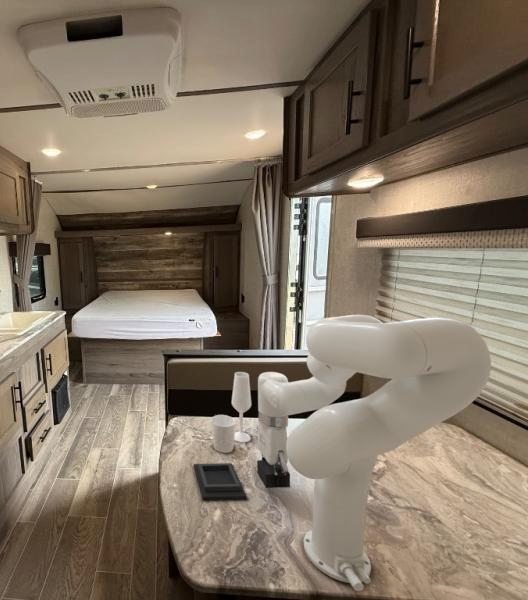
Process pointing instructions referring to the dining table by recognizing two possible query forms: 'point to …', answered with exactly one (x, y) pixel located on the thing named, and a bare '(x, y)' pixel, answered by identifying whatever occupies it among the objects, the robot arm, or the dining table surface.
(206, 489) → the base pad
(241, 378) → the champagne flute
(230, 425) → the white cup
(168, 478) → the dining table surface
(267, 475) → the black pad
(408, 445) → the dining table surface
